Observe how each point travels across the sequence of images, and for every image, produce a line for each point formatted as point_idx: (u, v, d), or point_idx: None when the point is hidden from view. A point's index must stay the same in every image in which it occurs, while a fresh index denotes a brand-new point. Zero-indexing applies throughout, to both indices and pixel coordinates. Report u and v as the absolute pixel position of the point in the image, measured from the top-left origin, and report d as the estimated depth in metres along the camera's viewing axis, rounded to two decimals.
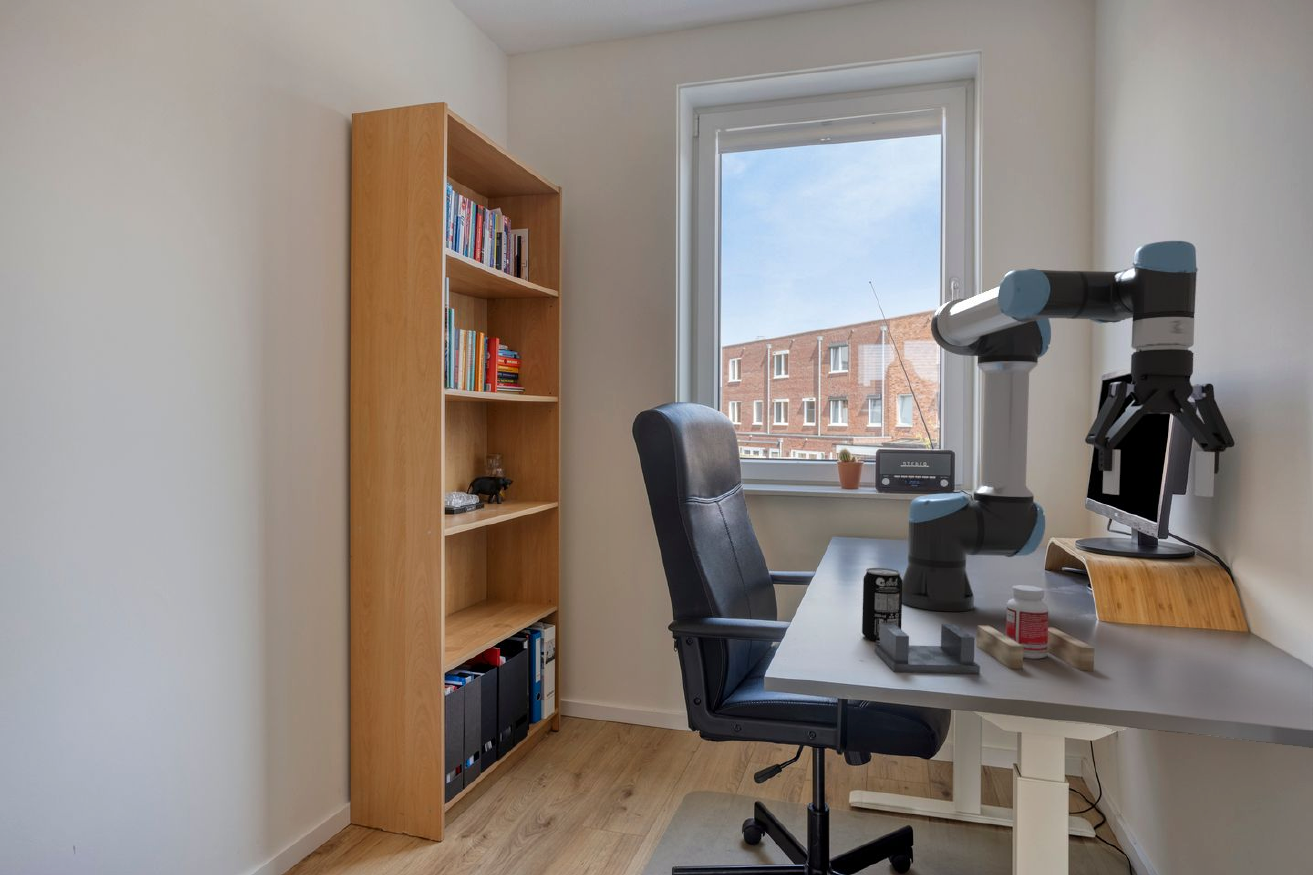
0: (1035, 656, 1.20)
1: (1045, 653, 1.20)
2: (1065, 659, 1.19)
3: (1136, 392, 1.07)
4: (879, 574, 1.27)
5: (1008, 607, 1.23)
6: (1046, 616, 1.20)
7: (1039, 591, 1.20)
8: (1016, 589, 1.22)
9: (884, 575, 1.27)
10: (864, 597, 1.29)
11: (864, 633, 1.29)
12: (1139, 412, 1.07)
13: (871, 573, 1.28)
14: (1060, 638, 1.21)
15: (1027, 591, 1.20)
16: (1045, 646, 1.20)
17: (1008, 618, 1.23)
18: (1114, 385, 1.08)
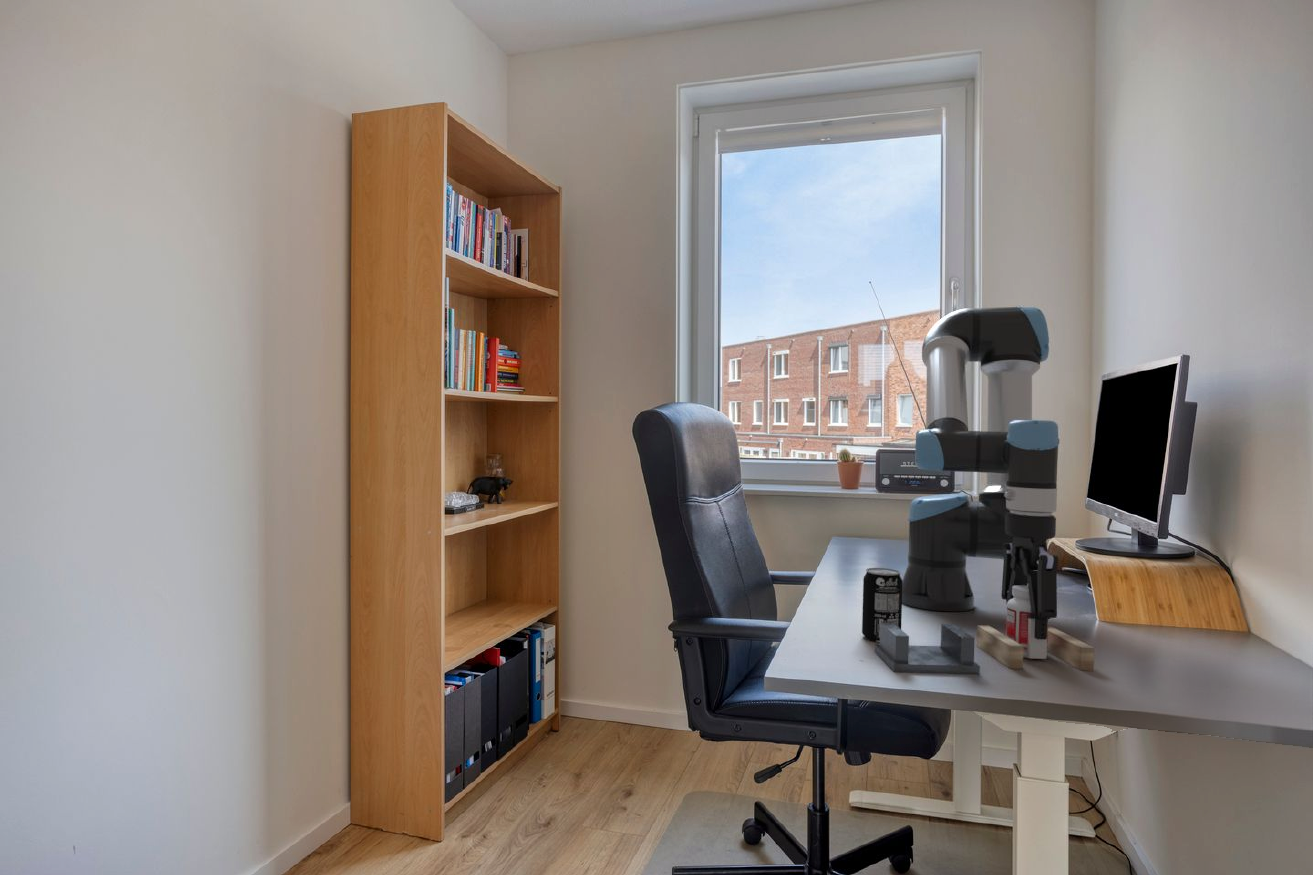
0: None
1: None
2: (1065, 659, 1.19)
3: None
4: (879, 574, 1.27)
5: (1008, 607, 1.23)
6: None
7: None
8: (1016, 589, 1.22)
9: (884, 575, 1.27)
10: (864, 597, 1.29)
11: (864, 633, 1.29)
12: (1013, 569, 1.25)
13: (871, 573, 1.28)
14: (1060, 638, 1.21)
15: (1027, 591, 1.20)
16: None
17: (1008, 618, 1.23)
18: None
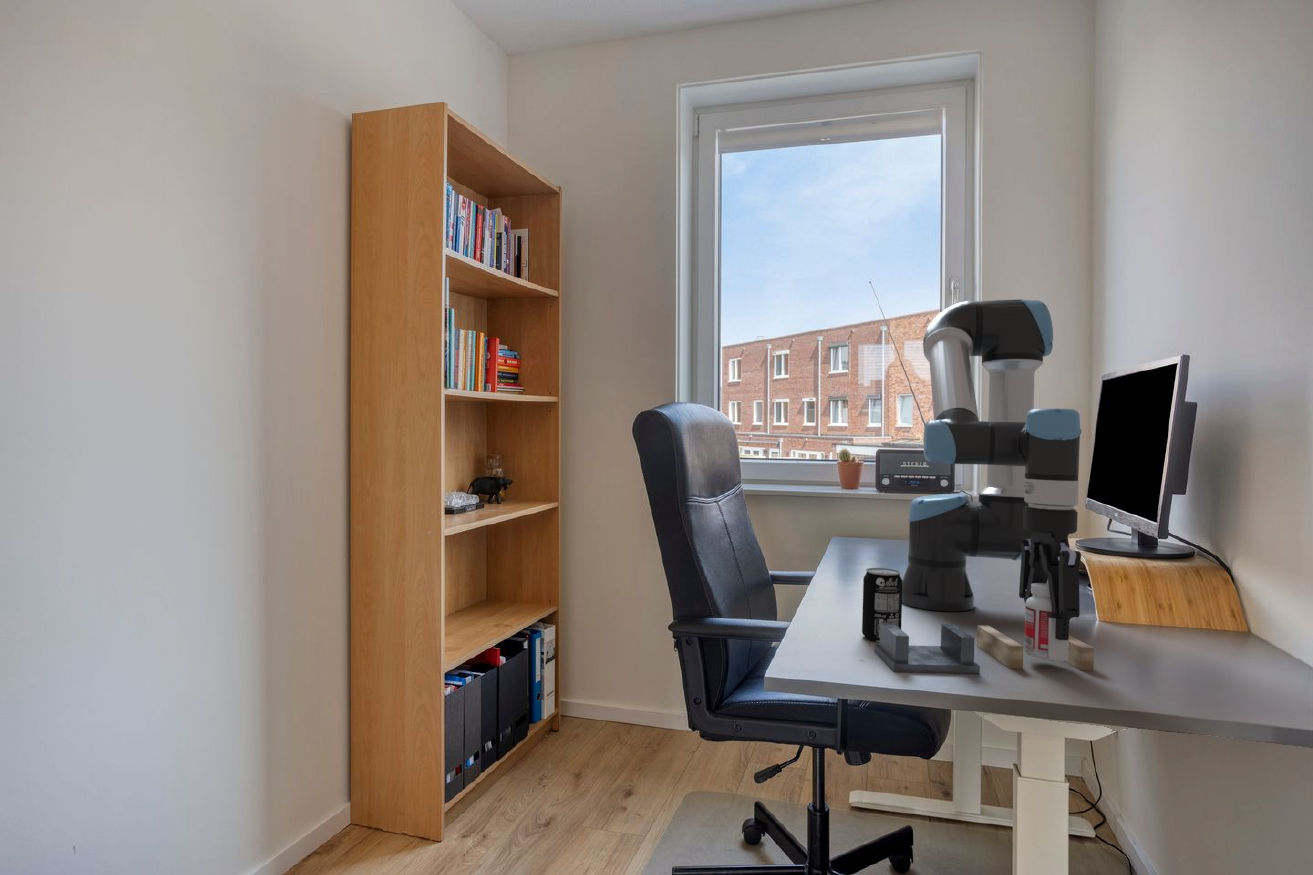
0: None
1: None
2: None
3: None
4: (879, 574, 1.27)
5: (1027, 606, 1.16)
6: None
7: None
8: (1035, 587, 1.16)
9: (884, 575, 1.27)
10: (864, 597, 1.29)
11: (864, 633, 1.29)
12: (1031, 566, 1.19)
13: (871, 573, 1.28)
14: None
15: (1047, 589, 1.14)
16: None
17: (1027, 618, 1.16)
18: None
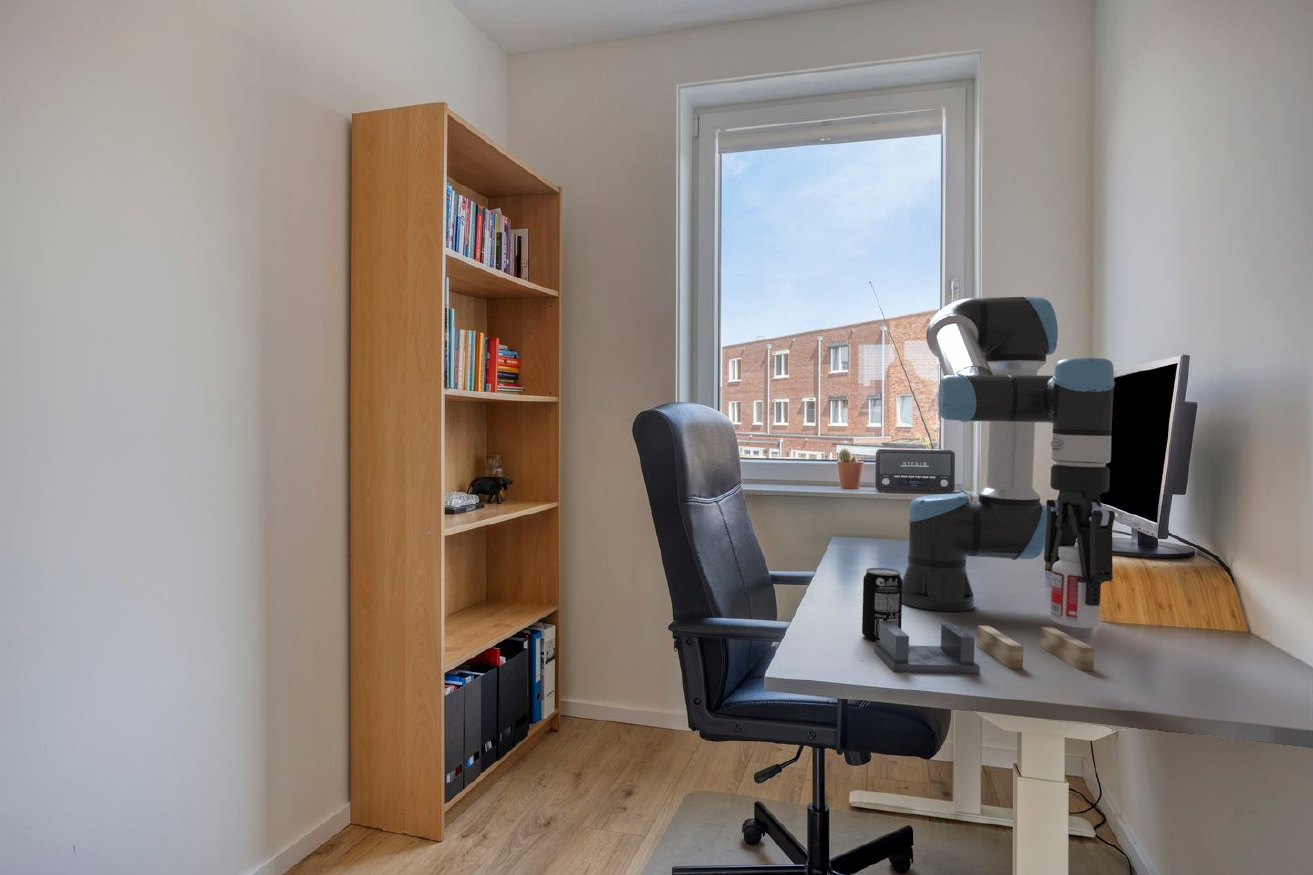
0: None
1: None
2: (1065, 659, 1.19)
3: None
4: (879, 574, 1.27)
5: (1054, 570, 1.09)
6: None
7: None
8: (1063, 550, 1.08)
9: (884, 575, 1.27)
10: (864, 597, 1.29)
11: (864, 633, 1.29)
12: (1059, 528, 1.11)
13: (871, 573, 1.28)
14: (1060, 638, 1.21)
15: (1076, 552, 1.07)
16: None
17: (1054, 583, 1.09)
18: None
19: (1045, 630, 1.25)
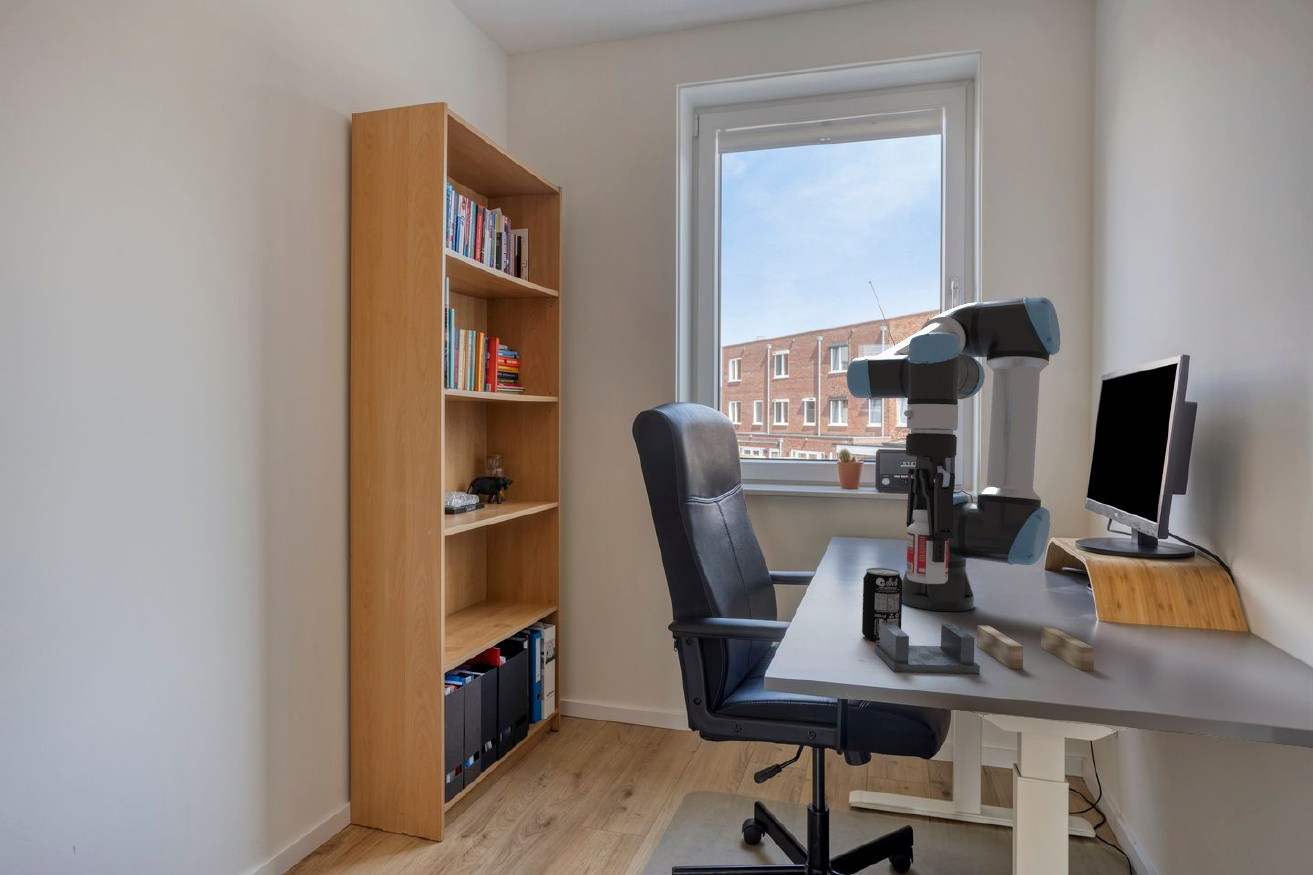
0: None
1: (945, 578, 1.14)
2: (1065, 659, 1.19)
3: None
4: (879, 574, 1.27)
5: (908, 531, 1.17)
6: None
7: None
8: (915, 512, 1.16)
9: (884, 575, 1.27)
10: (864, 597, 1.29)
11: (864, 633, 1.29)
12: (915, 493, 1.19)
13: (871, 573, 1.28)
14: (1060, 638, 1.21)
15: (926, 513, 1.14)
16: None
17: (908, 543, 1.17)
18: None
19: (1045, 630, 1.25)
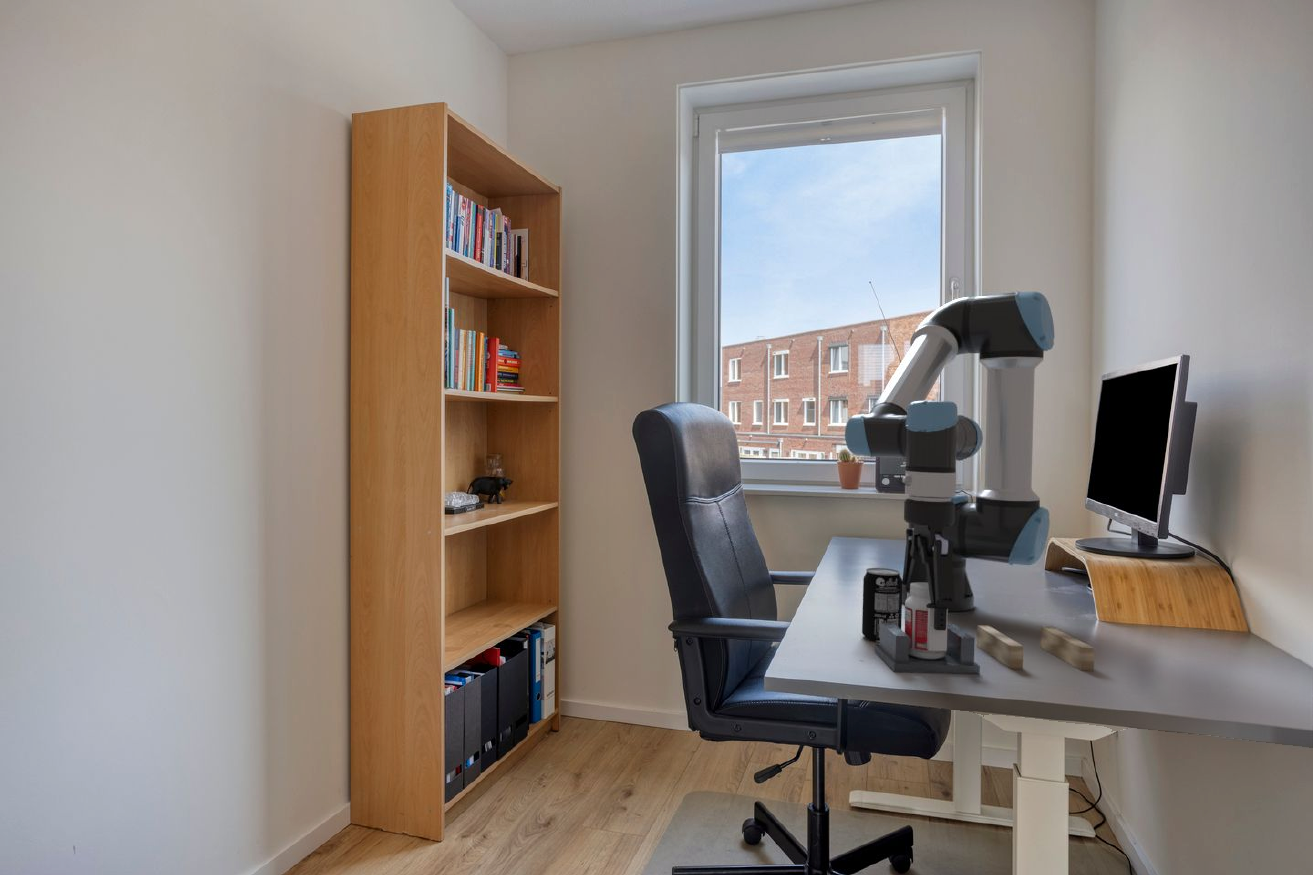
0: (931, 656, 1.14)
1: (942, 653, 1.14)
2: (1065, 659, 1.19)
3: None
4: (879, 574, 1.27)
5: (905, 605, 1.17)
6: None
7: None
8: (913, 586, 1.16)
9: (884, 575, 1.27)
10: (864, 597, 1.29)
11: (864, 633, 1.29)
12: None
13: (871, 573, 1.28)
14: (1060, 638, 1.21)
15: (923, 588, 1.15)
16: None
17: (905, 617, 1.17)
18: None
19: (1045, 630, 1.25)
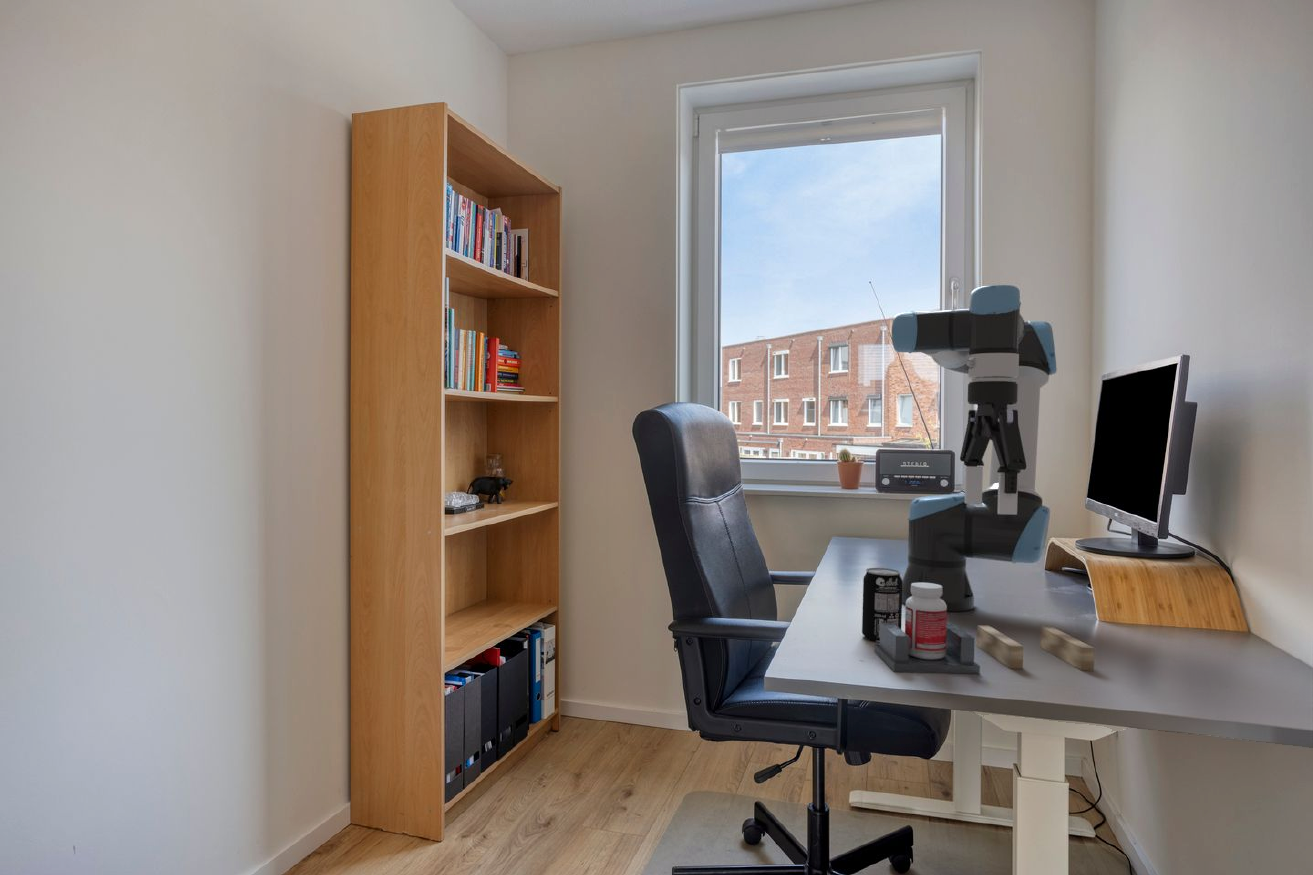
0: (931, 657, 1.14)
1: (943, 654, 1.14)
2: (1065, 659, 1.19)
3: None
4: (879, 574, 1.27)
5: (906, 605, 1.17)
6: (944, 615, 1.14)
7: (936, 588, 1.15)
8: (913, 586, 1.16)
9: (884, 575, 1.27)
10: (864, 597, 1.29)
11: (864, 633, 1.29)
12: None
13: (871, 573, 1.28)
14: (1060, 638, 1.21)
15: (924, 589, 1.15)
16: (942, 646, 1.14)
17: (906, 617, 1.17)
18: None
19: (1045, 630, 1.25)
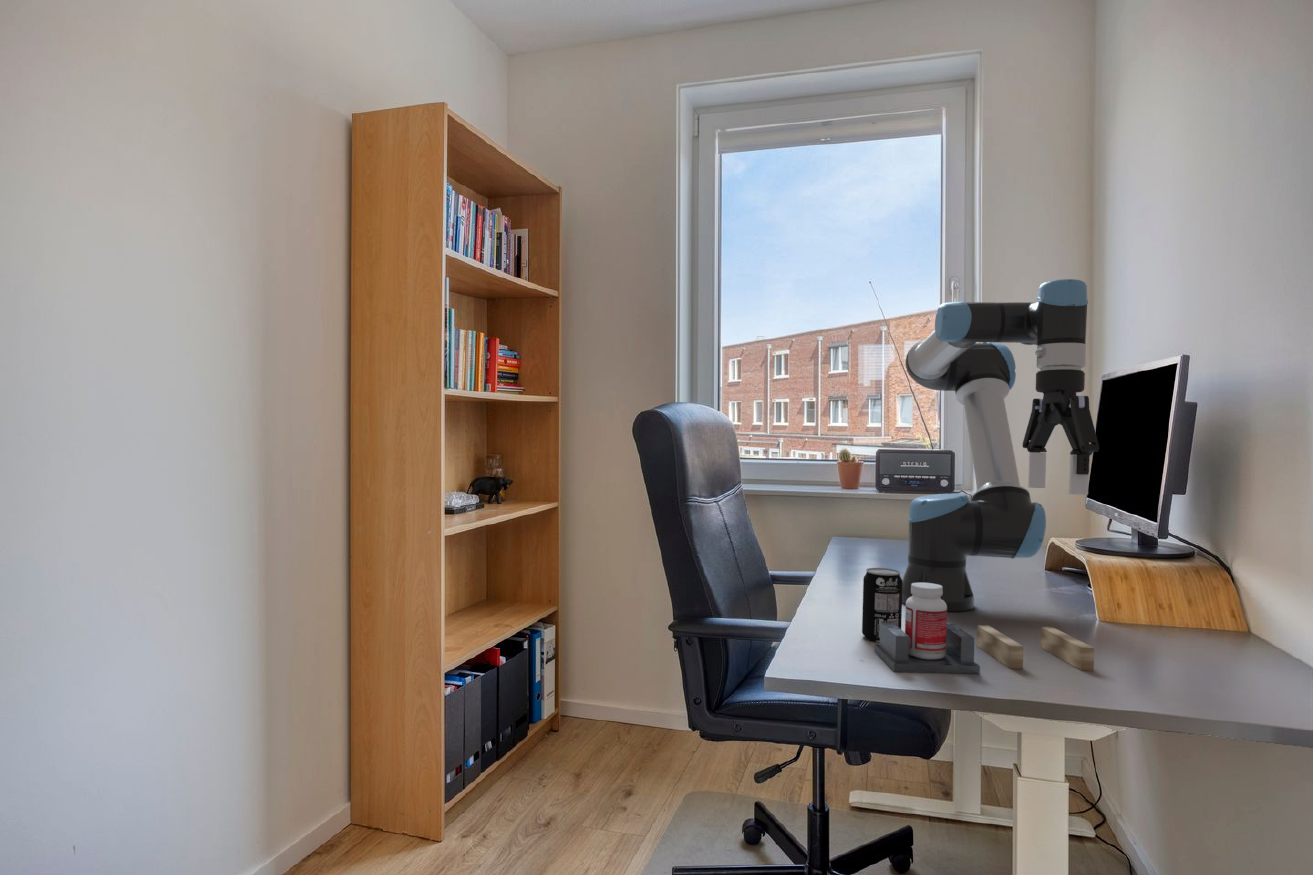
0: (931, 657, 1.14)
1: (942, 654, 1.14)
2: (1065, 659, 1.19)
3: None
4: (879, 574, 1.27)
5: (906, 605, 1.17)
6: (944, 615, 1.14)
7: (936, 589, 1.15)
8: (914, 586, 1.16)
9: (884, 575, 1.27)
10: (864, 597, 1.29)
11: (864, 633, 1.29)
12: (1039, 422, 1.33)
13: (871, 573, 1.28)
14: (1060, 638, 1.21)
15: (924, 589, 1.15)
16: (942, 646, 1.14)
17: (906, 617, 1.17)
18: None
19: (1045, 630, 1.25)
